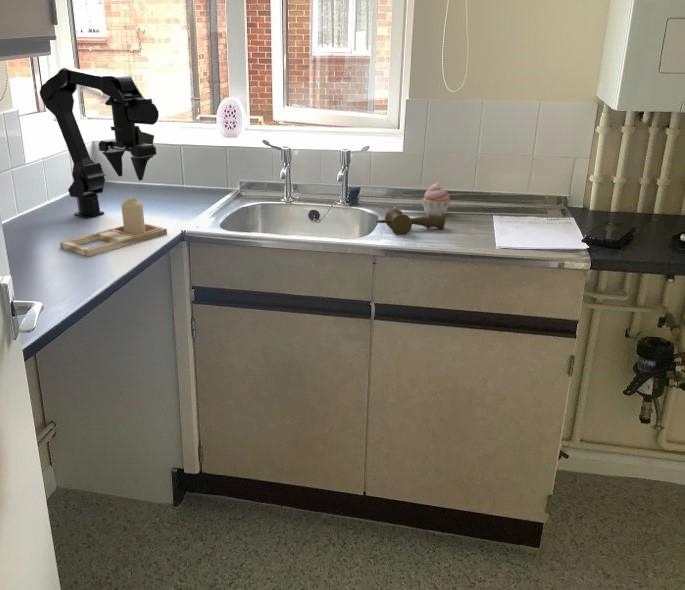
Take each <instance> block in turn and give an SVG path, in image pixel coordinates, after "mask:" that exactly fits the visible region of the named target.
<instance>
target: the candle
mask: <svg viewBox="0 0 685 590" xmlns="http://www.w3.org/2000/svg"><path fill="white" fill-rule="evenodd" d="M121 214H122V216H121V217H122V220H123V221H122V223H123V226H124V232H125V233H129V234H133V235H137V234H141V233H144V232H146V231H145V224H144V223H145V214H144V206H143V203H142V202H141V201H139V200H138V199H136V198H128V199H125V200H124V202H123V203H122V204H121ZM128 236H129V235H128Z"/></svg>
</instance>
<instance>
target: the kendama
mask: <svg viewBox="0 0 685 590" xmlns="http://www.w3.org/2000/svg"><path fill="white" fill-rule="evenodd" d="M375 222H376V223H377V224H386V226H388V227H389V228H391V231H392V232H393V234H395V235H397V236H401V235H402V236H405V235H407V234H409V233H410V231H411V230H412V228H413V227H412V226H413V225H415V226H416V225H417V226H421V227H422V226H423V227H425V228H426V229H428V230H429V229H431V228H437V229H438V230H444V228H445V225H446V215H445V216H444V214H443V213H442V212H440V213H438V214H436V215H430V214H428V213H427V214H424V215H422V216H417V217H413V218H412V217H410V216H409V215H407V214H403V212H402V210H401V209H398V208H392V209H389V210H387V212H386V213H385V216H384V219H380V220H376V221H375Z"/></svg>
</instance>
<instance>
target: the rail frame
mask: <svg viewBox="0 0 685 590" xmlns="http://www.w3.org/2000/svg"><path fill="white" fill-rule="evenodd" d="M144 224H145V232H144V233H141V234H137V235H133V234H129V233H125V232H124V225H121V226H117V227H113V228H110V229H106V230H103V231H98V232H94V233H91V234H87V235H82V236H78V237H75V238H71V239H66V240H62V241H60V242H59V245H60V249H64V250H66V251H70V252H73V253H77V254H78V255H83V256H86V257H92V256H96V255H99V254H103V253H105V252H109V251H113V250H116V249H115V248H117V249H119V248H118V247H120V248H123V247H122V246H124V247H126V246H125V245H127V246H130V245H129V244H131V245H133V243H134V244H137V243H140V242H144V241H148V240H152V239H155V238H159V237H161V236H165V235H168V228H166V227H161V226H156V225H152V224H149V223H147V222H146V223H145V222H144ZM128 235H129V236H128ZM98 240H100V241H104V242H107V243H104V244H99V245H97V246H94V247H93V246H92V247H87V246H83V244H86V243H90V242H95V241H98ZM112 249H113V250H112Z"/></svg>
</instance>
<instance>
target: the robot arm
mask: <svg viewBox="0 0 685 590" xmlns="http://www.w3.org/2000/svg"><path fill="white" fill-rule="evenodd" d="M78 86H83V87H86V88H91V89H95V90H99V91H101V93H102V94H104V95H105V96H107V97H109V98H108V99H107V100H106V101H105V103H104V104H105V106H111V112H112V120H113V121H112V122H113V123H112V124H113V125H111V126H110V131H114V136H115V138H111V139H104V140H100V141H99V142H98V151H99V152H102V153H101V154H102V155H104V157H105V158H106V160H108V162H109V164H110V165H111V167H112V168H113V169H114V172H115V173H116V174H117V176H118V177H122V176H123V155H124V154H125V152H129V153H130V155H131V157H130V160H131V162H132V166H133V169H134V172H135V174H136V178H137V179H138V181H143V180H144V176H145V175H144V174H145V171H146V167H147V165H148V161H149V160H151V159H152V158H154V156H155V155H157V146H155V145H154V139H155V135H154V134H150V133H147V132H143V131H142V130H141V129H140V127H139V125H151V126H153V125H155V124H156V123H157V121H158V119H159V116H160V115H159V110H158V108H157V105H156V104H154V103H153V100H152V98H144V96H143V94H142V92H140V90H139V88H138V87H137V85H136V84H135V82H134V80H133V77H132V76H130V75H129V74H107V75H106V74H101V73H97V72H93V71H89V70H83V69H80V68H77V67H73V66H72V67H63V68H61V69H59V71H58V72H57V73H56V74H54V75H53V76H52V77H50V78H49V79H48V80H46V81H45V83H43V84H42V85H41V87H40V90H39V96H40V99H41V101H42V102H43V104H44V106H45V108H46V109H47V110H48V111H49V112H51V114H52V115H54V117H55V120H56V122H57V125H58V127H59V129H60V132H61V133H62V136H63V140H64V142H65V145H66V147H67V149H68V152H69V156H70V158H71V160H72V163H73V165H72V171H71V172H72V173H71V176H72V179H73V182H72V183H71V185H70V186H69V188H68V189H67V190H68V194H69V196H70V197H72V198H76V203H77V212H74V213H73V215H75V216H78V217H82V218H84V219H85V218H86V219H87V218H91V217H96V216H100V215H104V214H105V211H101V208H100V202H99V198H98V197H99V195H98V194H102V193H103V192H104V187H105V183H106V179H105V176H106V174H105V173H104V171H103V167H102V164H101V163H100V162H95V161H94V160H93V159H91V156H90V153H89V152H88V149H87V146H86V143H85V140H84V138H83V135H82V133H81V130H80V128H79V125H78V122H77V120H76V117H75V115H74V112H73V111H74V110H73V109H74V105H75V99H74V93H75V92H76V91H77V90H78ZM136 124H139V125H136Z"/></svg>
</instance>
